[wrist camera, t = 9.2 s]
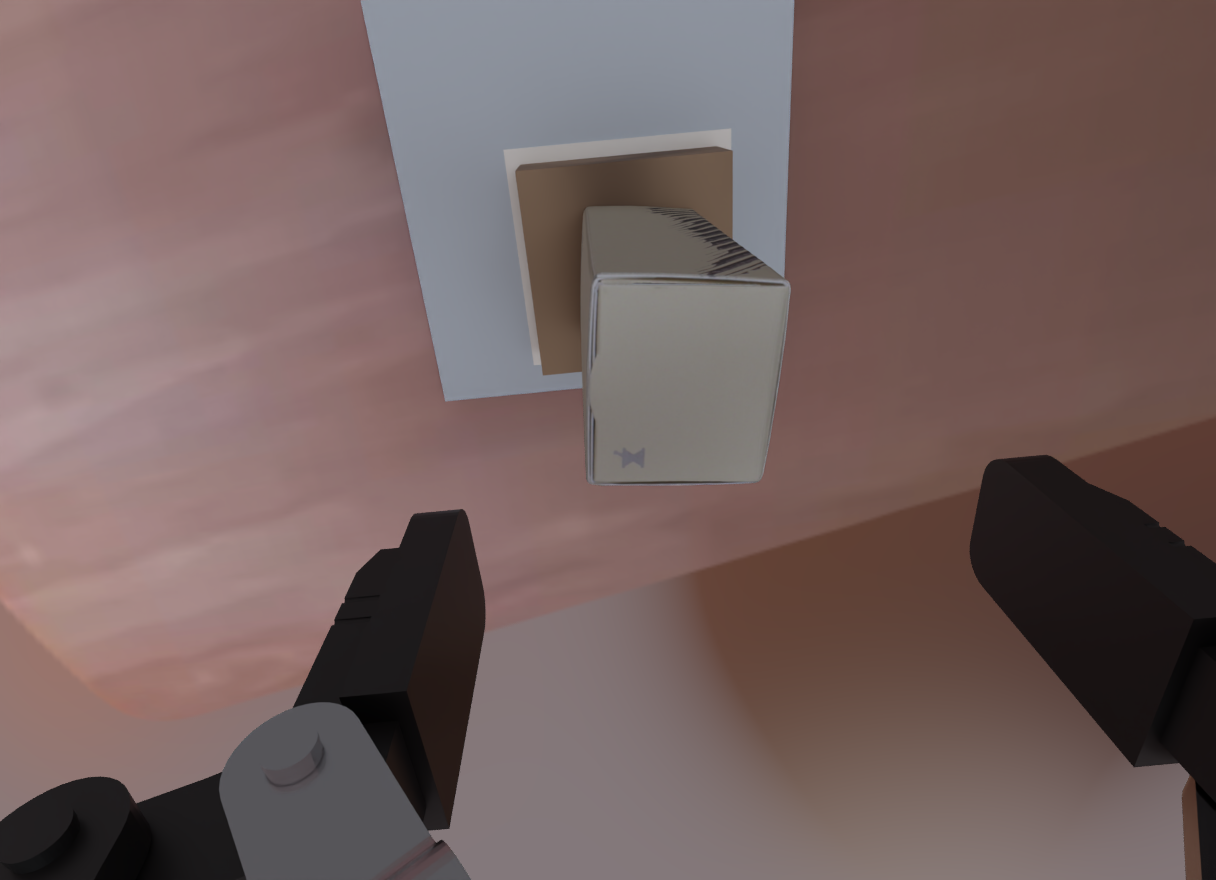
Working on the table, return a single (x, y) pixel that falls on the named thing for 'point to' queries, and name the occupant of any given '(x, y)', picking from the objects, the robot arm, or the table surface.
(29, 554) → the table surface
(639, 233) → the box
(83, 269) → the table surface
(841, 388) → the table surface
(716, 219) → the base block
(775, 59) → the board
